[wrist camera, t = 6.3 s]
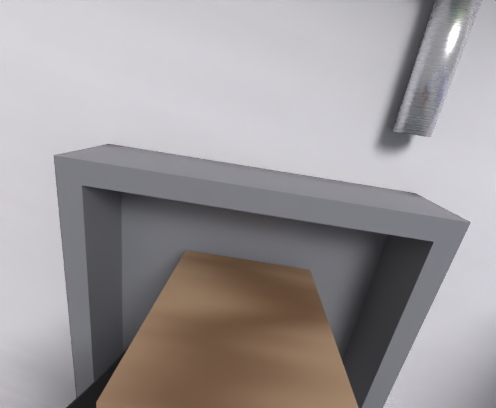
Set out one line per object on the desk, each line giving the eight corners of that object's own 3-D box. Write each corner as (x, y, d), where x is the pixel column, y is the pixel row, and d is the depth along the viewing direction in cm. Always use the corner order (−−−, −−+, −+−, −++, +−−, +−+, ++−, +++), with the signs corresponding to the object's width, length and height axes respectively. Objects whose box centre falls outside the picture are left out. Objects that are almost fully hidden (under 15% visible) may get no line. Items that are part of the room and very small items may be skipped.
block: (310, 269, 10) (373, 451, 5) (285, 366, 12) (311, 597, 6) (185, 250, 10) (93, 408, 5) (176, 349, 12) (97, 565, 6)
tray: (415, 193, 11) (470, 222, 8) (334, 403, 15) (351, 472, 12) (108, 144, 11) (53, 155, 8) (114, 369, 15) (79, 429, 12)
